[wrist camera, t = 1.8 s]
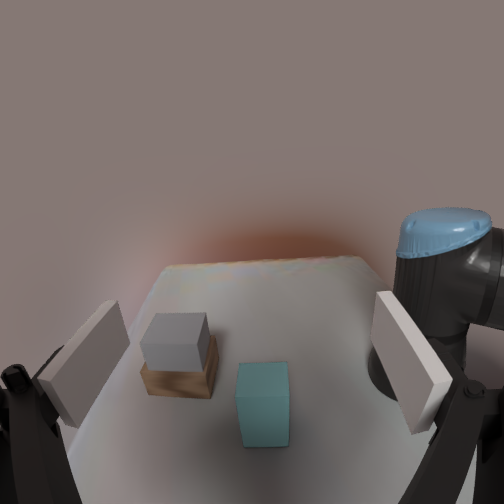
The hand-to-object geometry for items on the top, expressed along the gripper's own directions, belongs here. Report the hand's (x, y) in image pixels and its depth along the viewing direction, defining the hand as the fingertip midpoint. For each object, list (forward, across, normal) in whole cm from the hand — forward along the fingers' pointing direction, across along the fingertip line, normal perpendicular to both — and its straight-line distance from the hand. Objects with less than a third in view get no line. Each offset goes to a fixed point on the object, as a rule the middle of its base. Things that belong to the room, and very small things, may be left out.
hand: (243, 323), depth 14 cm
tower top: (+20, -12, -18) cm, 29 cm away
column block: (+10, 0, -22) cm, 24 cm away
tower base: (+20, -12, -22) cm, 32 cm away
